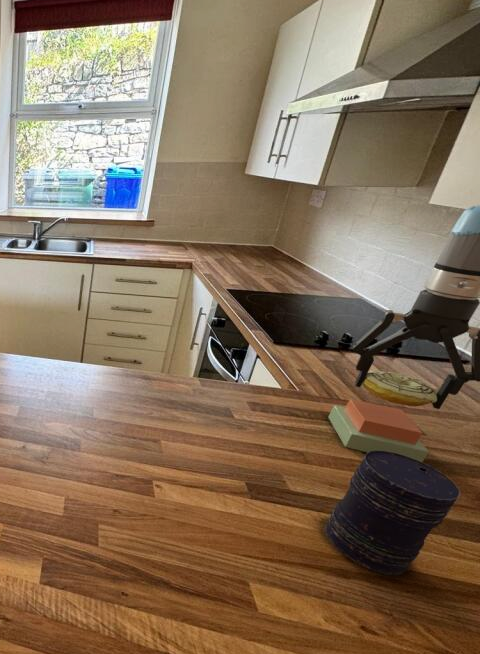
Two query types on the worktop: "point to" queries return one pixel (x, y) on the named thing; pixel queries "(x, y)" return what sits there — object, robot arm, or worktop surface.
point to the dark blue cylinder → (390, 511)
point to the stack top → (382, 421)
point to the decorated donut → (399, 388)
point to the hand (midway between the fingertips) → (394, 394)
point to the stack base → (371, 438)
